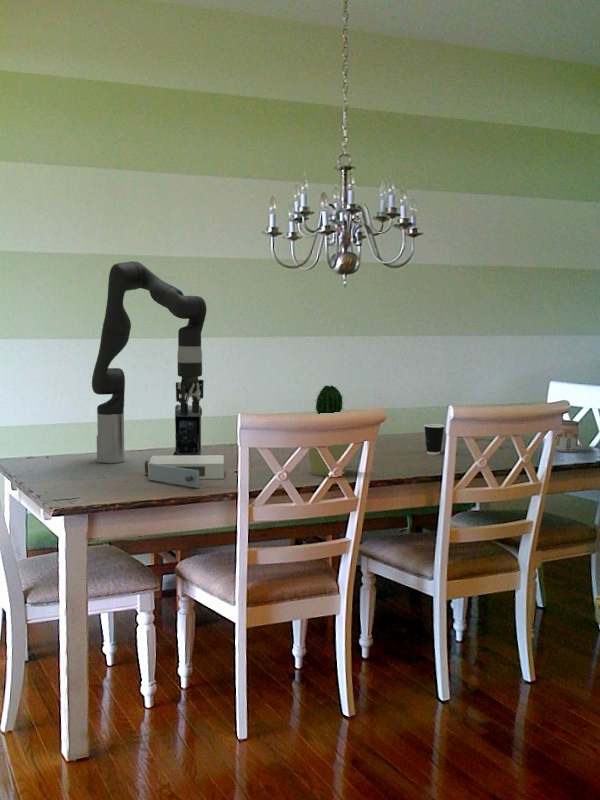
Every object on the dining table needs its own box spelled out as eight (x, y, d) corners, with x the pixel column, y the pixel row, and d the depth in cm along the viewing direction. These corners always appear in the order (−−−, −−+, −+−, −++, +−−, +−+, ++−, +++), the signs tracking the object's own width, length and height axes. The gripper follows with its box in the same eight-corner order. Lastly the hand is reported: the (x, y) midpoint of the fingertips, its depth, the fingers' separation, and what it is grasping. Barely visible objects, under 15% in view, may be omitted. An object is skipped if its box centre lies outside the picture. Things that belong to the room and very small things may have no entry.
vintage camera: (170, 465, 304) (171, 409, 302) (175, 456, 320) (175, 403, 317) (198, 466, 305) (199, 410, 302) (201, 457, 320) (202, 404, 317)
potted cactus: (306, 477, 284) (306, 385, 281) (304, 468, 299) (305, 381, 296) (353, 477, 284) (354, 385, 281) (349, 468, 299) (350, 381, 296)
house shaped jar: (554, 448, 346) (555, 419, 345) (576, 449, 344) (577, 419, 343) (556, 452, 337) (557, 421, 336) (578, 453, 335) (580, 422, 334)
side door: (143, 480, 275) (143, 464, 274) (151, 478, 277) (151, 462, 277) (192, 488, 263) (192, 471, 262) (200, 486, 265) (200, 470, 265)
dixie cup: (419, 453, 332) (419, 425, 331) (431, 451, 338) (432, 423, 336) (435, 456, 326) (436, 427, 325) (448, 453, 332) (449, 425, 331)
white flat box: (143, 479, 277) (143, 464, 277) (147, 470, 293) (147, 455, 293) (223, 478, 279) (223, 463, 279) (223, 469, 295) (223, 455, 295)
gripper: (189, 362, 260) (189, 417, 261) (211, 360, 273) (211, 412, 275) (167, 361, 262) (167, 416, 264) (190, 359, 276) (190, 411, 277)
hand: (190, 414), depth 269 cm, fingers open, 7 cm apart
